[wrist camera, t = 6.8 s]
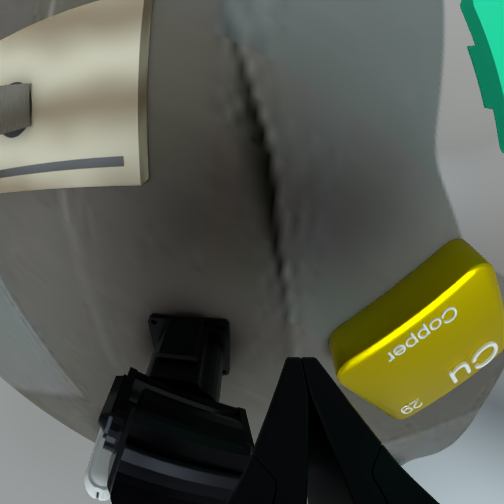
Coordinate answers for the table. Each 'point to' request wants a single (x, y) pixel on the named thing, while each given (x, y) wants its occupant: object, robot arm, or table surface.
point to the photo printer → (98, 470)
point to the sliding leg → (14, 107)
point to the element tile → (423, 333)
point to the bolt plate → (80, 98)
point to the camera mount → (488, 54)
